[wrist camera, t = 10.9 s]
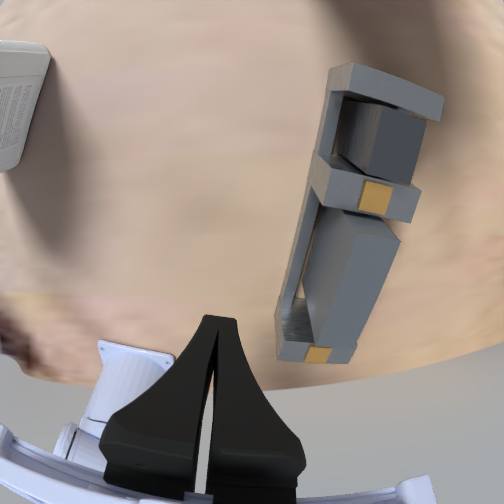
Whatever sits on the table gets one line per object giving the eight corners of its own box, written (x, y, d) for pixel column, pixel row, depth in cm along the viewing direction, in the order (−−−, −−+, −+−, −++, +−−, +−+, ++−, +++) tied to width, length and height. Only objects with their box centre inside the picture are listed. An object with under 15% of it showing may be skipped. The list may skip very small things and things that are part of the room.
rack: (336, 321, 26) (351, 374, 20) (274, 314, 25) (278, 370, 20) (406, 93, 17) (456, 98, 11) (329, 69, 16) (360, 60, 11)
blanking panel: (332, 284, 24) (353, 348, 18) (301, 280, 24) (315, 346, 18) (360, 195, 20) (400, 241, 14) (326, 188, 20) (356, 233, 14)
